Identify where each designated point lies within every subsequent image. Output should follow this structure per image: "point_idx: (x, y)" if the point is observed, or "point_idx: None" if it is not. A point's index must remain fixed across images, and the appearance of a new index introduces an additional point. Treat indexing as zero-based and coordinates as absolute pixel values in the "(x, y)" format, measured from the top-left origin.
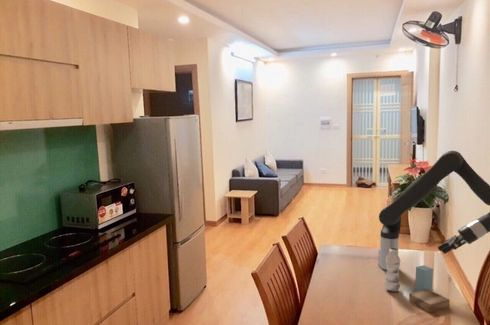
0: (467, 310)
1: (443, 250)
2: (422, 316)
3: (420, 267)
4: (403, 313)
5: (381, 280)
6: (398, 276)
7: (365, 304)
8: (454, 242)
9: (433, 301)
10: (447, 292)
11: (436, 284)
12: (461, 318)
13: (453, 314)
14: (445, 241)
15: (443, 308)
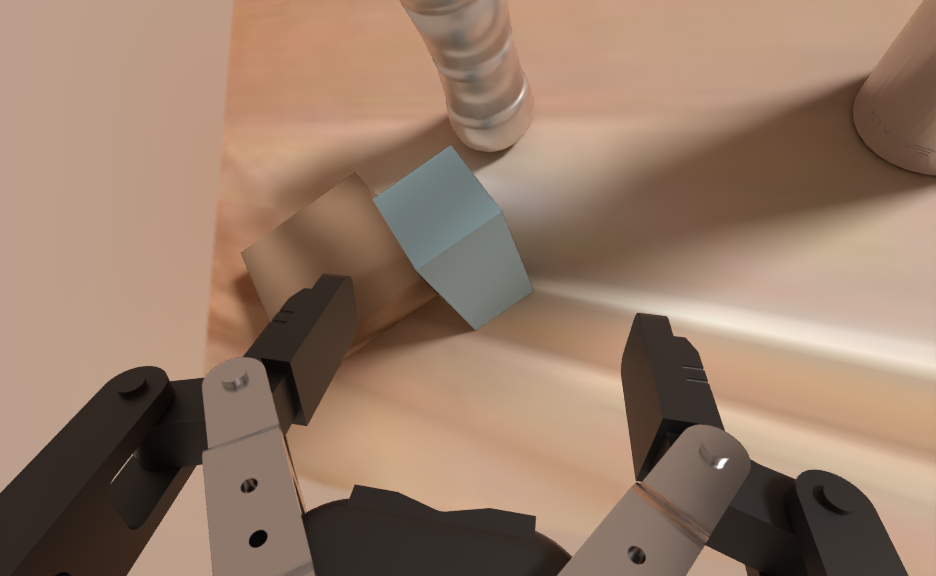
0: None
1: (306, 294)
2: (243, 230)
3: (440, 175)
4: (269, 162)
5: (633, 79)
6: (455, 89)
7: (340, 34)
8: (110, 451)
9: (270, 274)
10: (519, 444)
11: None
12: None
13: None
14: (796, 482)
15: None
